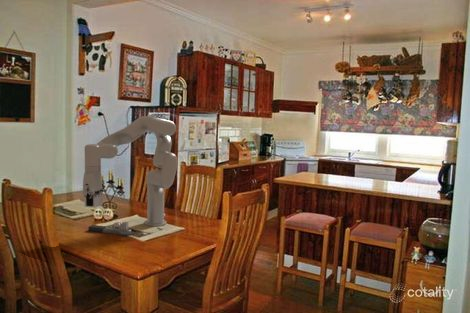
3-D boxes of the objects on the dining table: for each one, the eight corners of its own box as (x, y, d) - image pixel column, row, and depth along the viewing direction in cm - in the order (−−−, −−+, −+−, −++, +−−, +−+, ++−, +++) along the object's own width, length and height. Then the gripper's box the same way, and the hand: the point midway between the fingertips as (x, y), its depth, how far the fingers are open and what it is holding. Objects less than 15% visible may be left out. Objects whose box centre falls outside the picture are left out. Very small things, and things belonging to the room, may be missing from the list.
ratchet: (93, 228, 205) (93, 216, 205) (133, 233, 200) (133, 221, 199) (86, 231, 199) (86, 220, 198) (127, 236, 194) (127, 224, 193)
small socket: (116, 228, 207) (116, 222, 207) (122, 228, 206) (122, 222, 206) (112, 230, 204) (112, 223, 203) (118, 230, 203) (118, 224, 203)
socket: (91, 203, 194) (91, 192, 193) (102, 204, 192) (102, 193, 192) (84, 206, 188) (84, 194, 187) (95, 207, 187) (95, 195, 186)
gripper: (96, 166, 197) (96, 200, 199) (75, 171, 181) (76, 207, 183) (109, 167, 196) (109, 201, 198) (89, 172, 179) (89, 209, 181)
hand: (93, 204), depth 190 cm, fingers closed on socket, 6 cm apart
